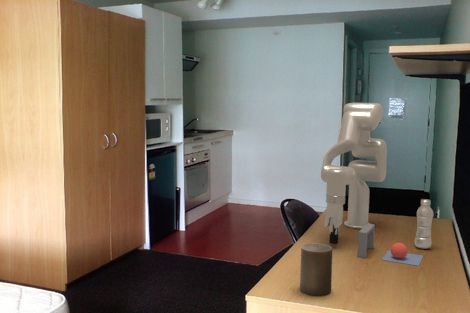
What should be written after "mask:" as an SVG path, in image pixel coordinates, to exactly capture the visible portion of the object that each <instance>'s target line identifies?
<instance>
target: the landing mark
mask: <svg viewBox="0 0 470 313" xmlns="http://www.w3.org/2000/svg"><path fill="white" fill-rule="evenodd" d="M423 257H424V255H421V254H420V255H419V254H413V253H408V252H407V255H406V256H405V257H404V258H402V259H397V258H395V257H393V255H392V254H391V250H387V251H386V253H385V255H384V256H383V257H382V259H381V261H386V262H391V263H398V264H404V265H409V266H416V267H419V266H420V264H421V262H422V261H423Z"/></svg>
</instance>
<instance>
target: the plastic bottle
mask: <svg viewBox="0 0 470 313" xmlns="http://www.w3.org/2000/svg"><path fill="white" fill-rule="evenodd" d="M431 203H432V202H431V199H428V198H427V199H425V198H421V199H420V206H419V207H418V209H417V211H416V220H417V221H416V223H417V225H416V226H417V227H416V233H415V238H414V244H415V247H416V248H419V249H426V250H427V249H430V248H431V247H432V223H433V218H434V211H433V209H432V208H431Z"/></svg>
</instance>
